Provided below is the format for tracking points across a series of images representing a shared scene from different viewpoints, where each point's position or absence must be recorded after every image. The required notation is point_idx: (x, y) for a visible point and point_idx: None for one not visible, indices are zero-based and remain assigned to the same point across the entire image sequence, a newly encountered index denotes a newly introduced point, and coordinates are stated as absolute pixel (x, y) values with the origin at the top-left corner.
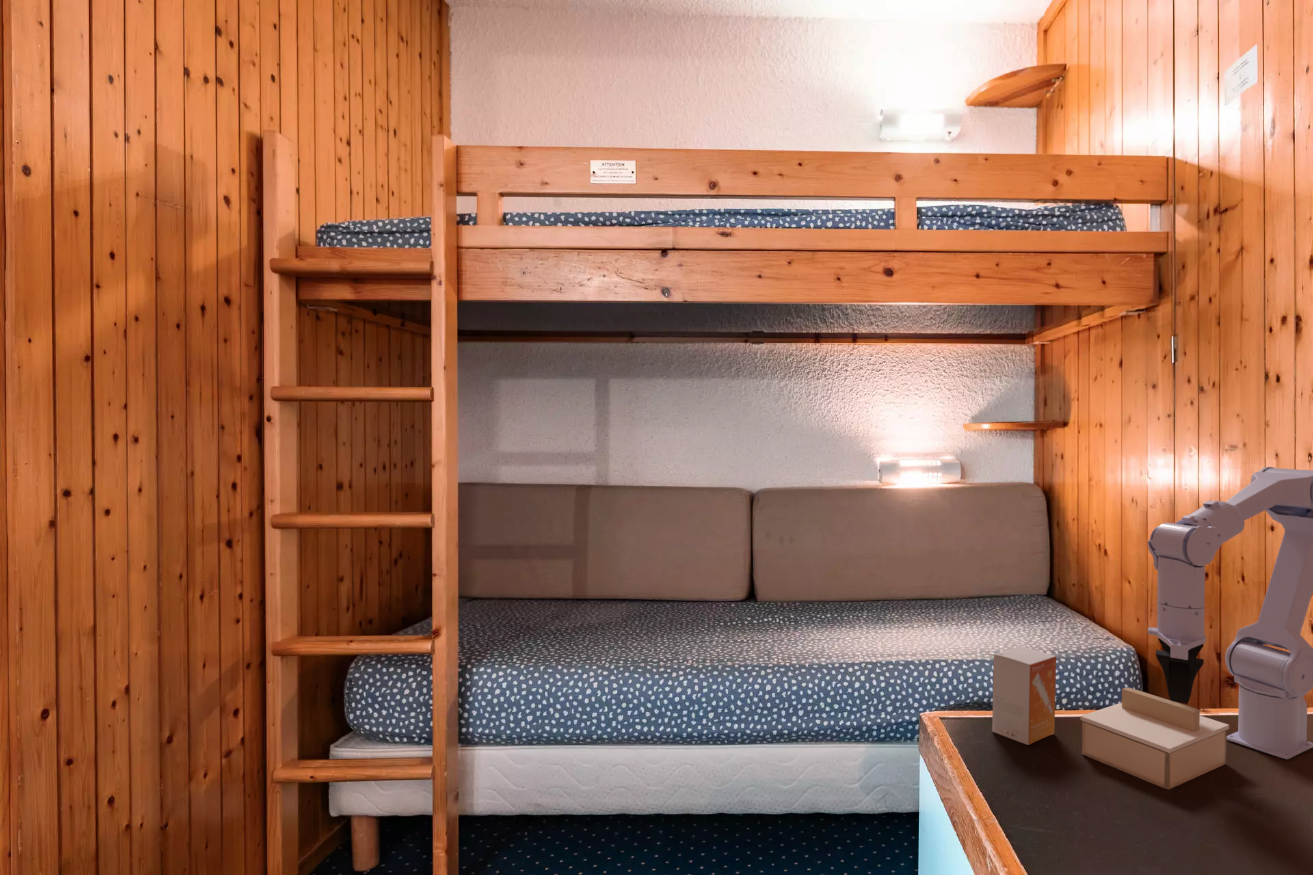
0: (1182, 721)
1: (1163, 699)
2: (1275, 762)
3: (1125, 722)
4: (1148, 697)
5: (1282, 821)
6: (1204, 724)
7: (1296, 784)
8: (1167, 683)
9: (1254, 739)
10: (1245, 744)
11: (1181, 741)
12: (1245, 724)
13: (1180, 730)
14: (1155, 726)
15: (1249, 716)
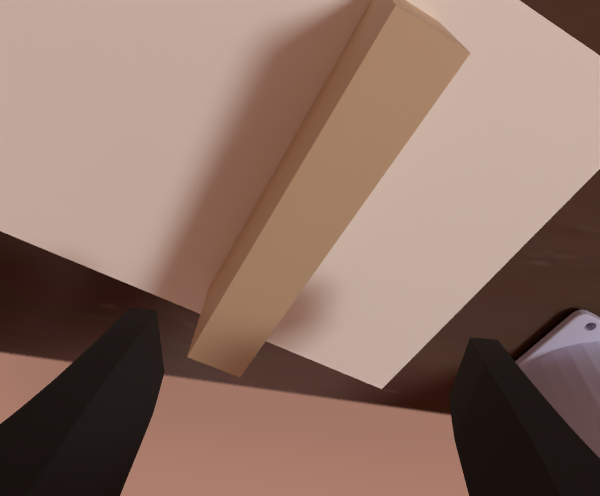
0: (221, 275)
1: (300, 255)
2: (446, 377)
3: (105, 6)
4: (293, 181)
5: (69, 338)
6: (333, 327)
7: (318, 389)
8: (48, 387)
9: (537, 377)
10: (537, 345)
11: (52, 241)
12: (581, 393)
13: (192, 247)
14: (163, 156)
15: (581, 428)
